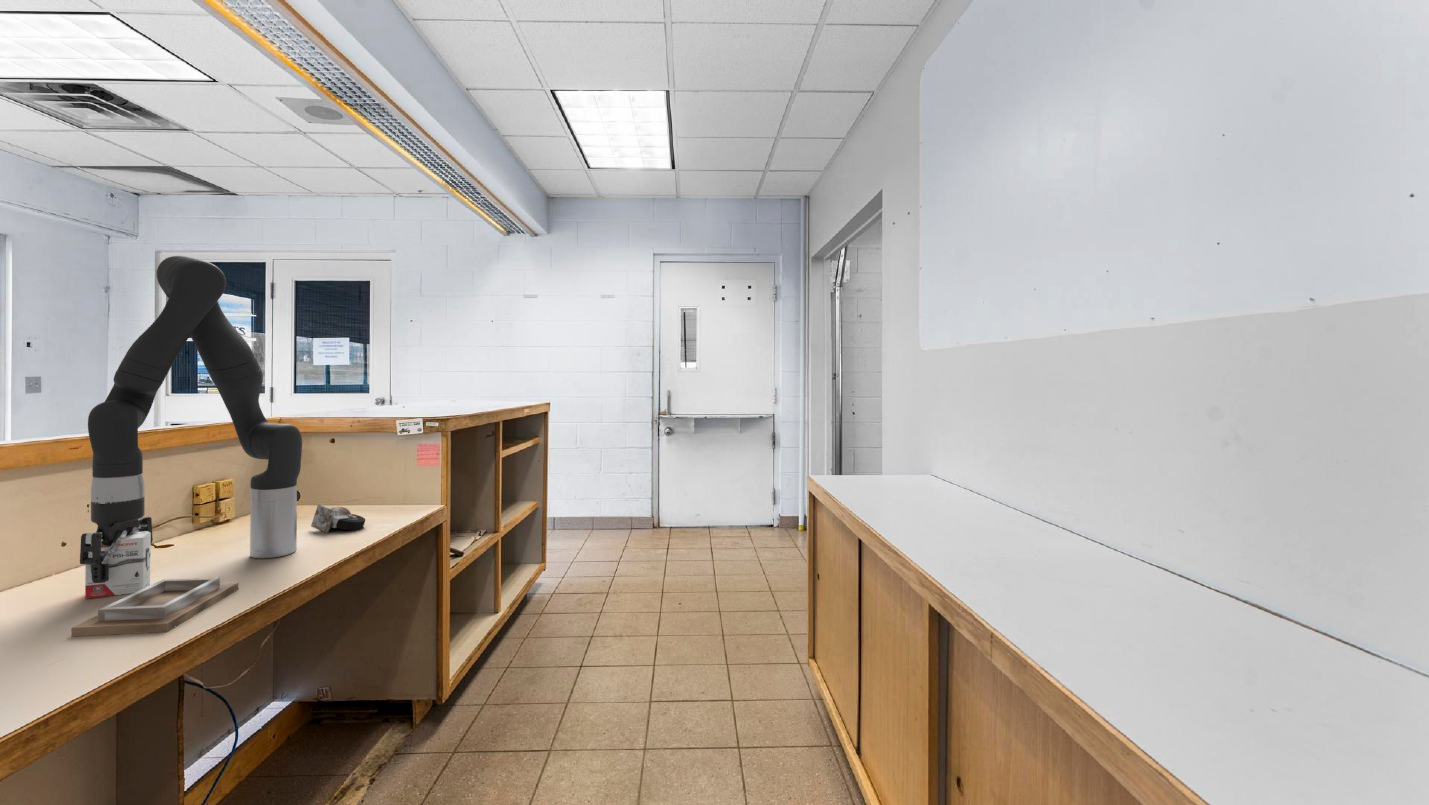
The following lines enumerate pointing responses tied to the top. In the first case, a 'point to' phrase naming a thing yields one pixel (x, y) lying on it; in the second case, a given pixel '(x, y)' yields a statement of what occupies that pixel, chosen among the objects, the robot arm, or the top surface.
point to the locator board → (156, 607)
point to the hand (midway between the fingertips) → (118, 574)
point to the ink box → (123, 568)
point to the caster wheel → (336, 519)
